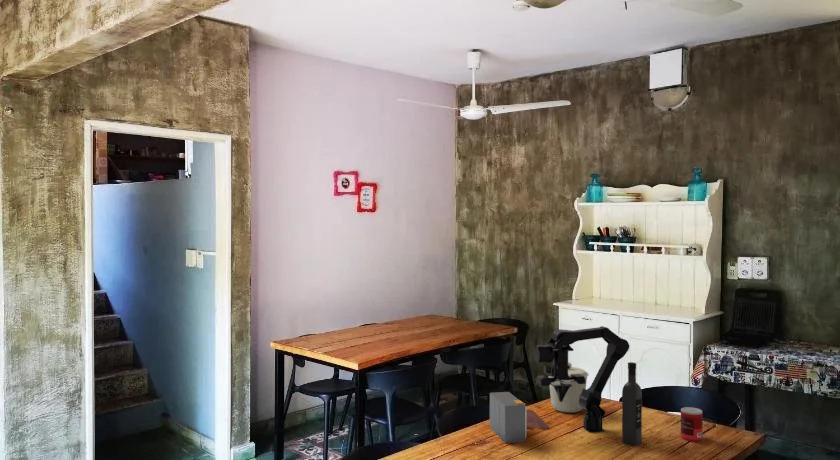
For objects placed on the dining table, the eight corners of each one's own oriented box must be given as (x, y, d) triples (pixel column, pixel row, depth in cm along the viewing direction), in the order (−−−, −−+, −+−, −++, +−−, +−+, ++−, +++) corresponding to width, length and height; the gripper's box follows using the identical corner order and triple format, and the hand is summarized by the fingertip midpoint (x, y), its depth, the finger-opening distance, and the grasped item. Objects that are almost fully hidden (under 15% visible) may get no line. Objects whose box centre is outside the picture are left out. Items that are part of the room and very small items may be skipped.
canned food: (701, 436, 241) (701, 408, 241) (703, 443, 234) (703, 413, 234) (680, 434, 244) (680, 406, 244) (681, 440, 236) (681, 411, 236)
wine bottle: (642, 443, 234) (642, 363, 234) (634, 446, 230) (635, 365, 230) (628, 439, 238) (629, 360, 238) (620, 442, 234) (621, 362, 234)
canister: (551, 402, 288) (551, 356, 288) (591, 406, 281) (591, 360, 281) (542, 412, 272) (542, 364, 272) (585, 417, 265) (585, 368, 265)
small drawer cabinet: (510, 426, 254) (510, 391, 253) (527, 441, 235) (527, 403, 235) (489, 427, 252) (489, 392, 252) (505, 443, 233) (505, 405, 233)
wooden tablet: (550, 430, 250) (550, 426, 250) (525, 431, 249) (525, 426, 249) (534, 411, 276) (534, 407, 276) (512, 411, 276) (512, 407, 276)
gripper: (573, 357, 256) (573, 394, 256) (531, 358, 253) (530, 397, 253) (586, 362, 245) (586, 402, 245) (541, 364, 242) (541, 404, 242)
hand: (560, 401), depth 247 cm, fingers closed
